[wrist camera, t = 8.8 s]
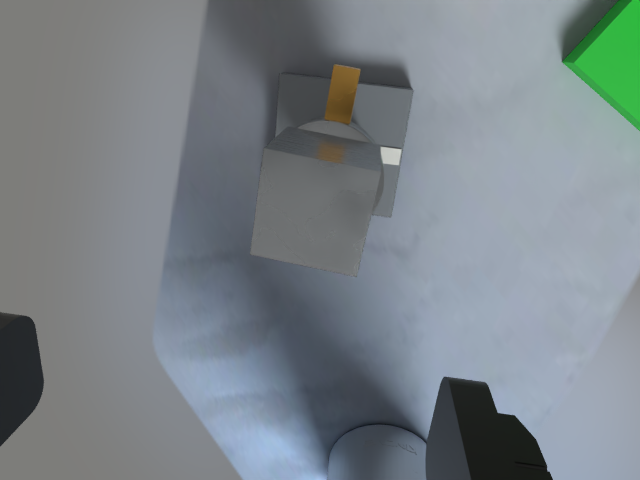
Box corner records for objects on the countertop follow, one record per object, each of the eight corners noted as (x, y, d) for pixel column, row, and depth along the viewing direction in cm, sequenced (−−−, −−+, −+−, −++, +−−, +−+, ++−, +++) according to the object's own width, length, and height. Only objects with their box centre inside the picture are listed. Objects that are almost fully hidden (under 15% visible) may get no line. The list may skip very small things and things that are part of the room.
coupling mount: (390, 210, 32) (393, 251, 26) (275, 194, 33) (250, 231, 26) (411, 87, 29) (421, 100, 23) (284, 72, 30) (257, 80, 23)
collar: (407, 77, 22) (418, 90, 16) (370, 233, 25) (368, 292, 19) (290, 54, 22) (257, 59, 16) (268, 211, 26) (234, 264, 19)
